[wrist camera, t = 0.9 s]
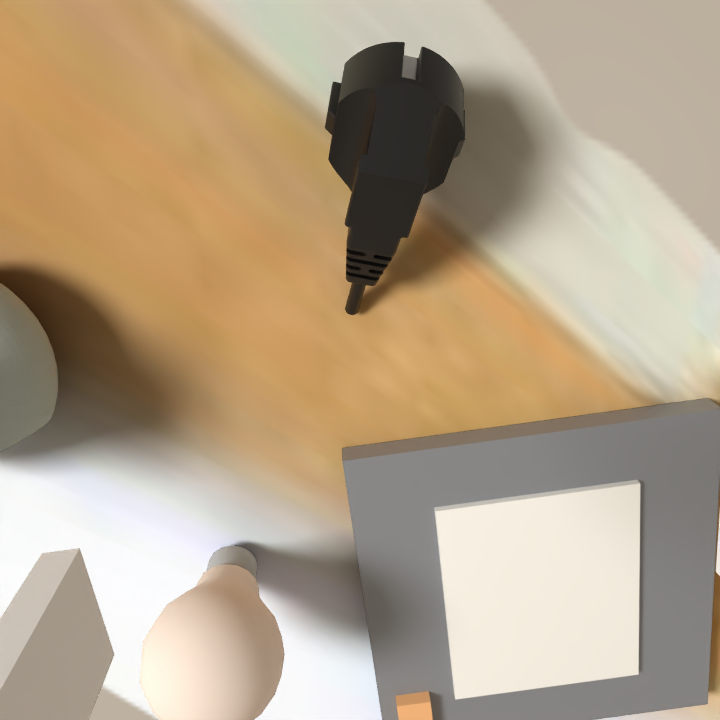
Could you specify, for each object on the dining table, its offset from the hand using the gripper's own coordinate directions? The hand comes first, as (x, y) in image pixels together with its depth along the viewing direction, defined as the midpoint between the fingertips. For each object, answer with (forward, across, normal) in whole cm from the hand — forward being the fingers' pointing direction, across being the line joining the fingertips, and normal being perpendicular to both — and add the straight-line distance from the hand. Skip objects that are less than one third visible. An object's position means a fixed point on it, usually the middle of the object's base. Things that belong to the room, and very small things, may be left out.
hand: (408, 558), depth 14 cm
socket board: (+21, +8, -18) cm, 29 cm away
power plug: (+24, 0, +1) cm, 24 cm away
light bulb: (+21, -9, -14) cm, 27 cm away
